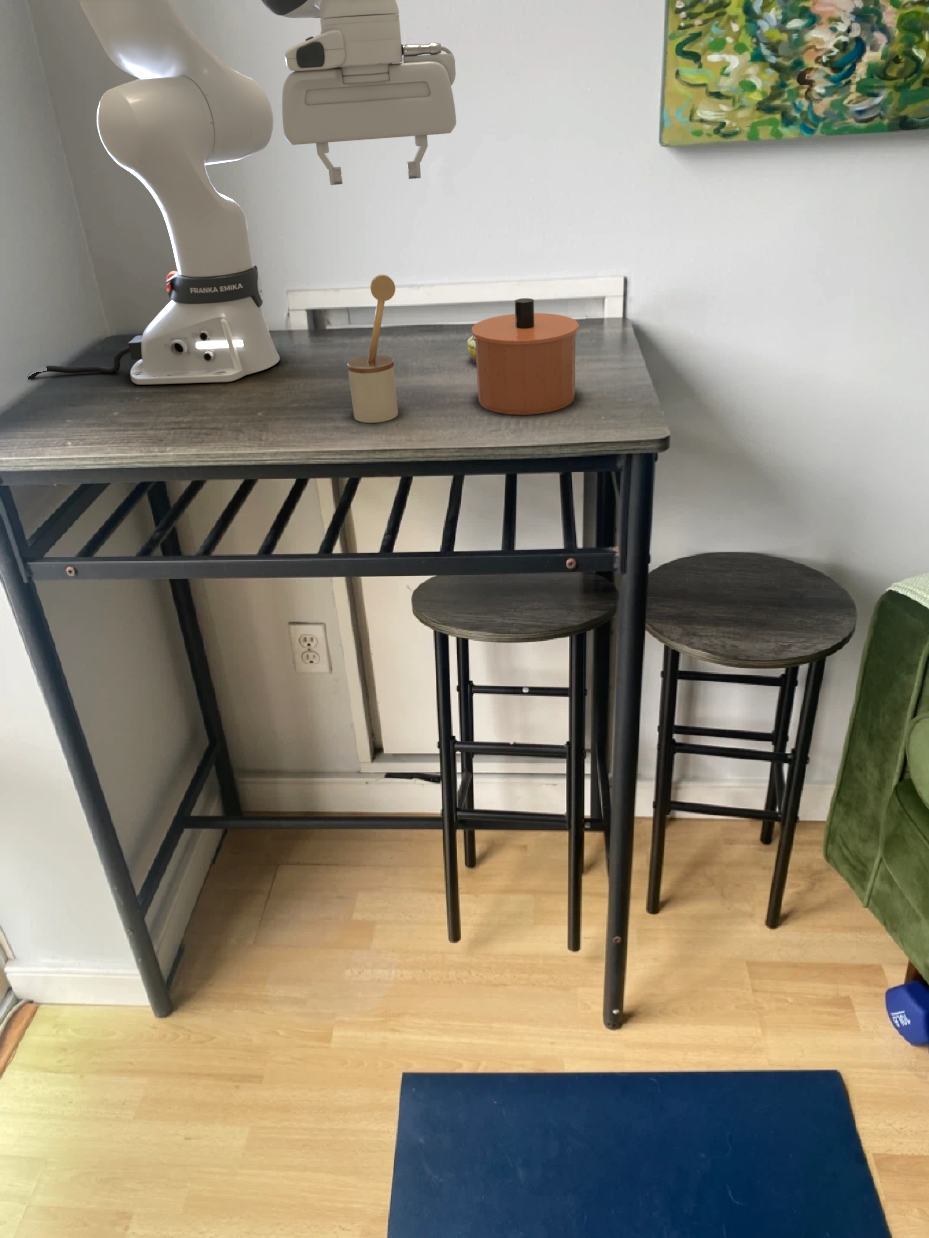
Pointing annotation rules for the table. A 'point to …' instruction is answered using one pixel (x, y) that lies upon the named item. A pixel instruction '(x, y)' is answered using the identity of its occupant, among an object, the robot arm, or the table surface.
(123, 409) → the table surface
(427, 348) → the table surface
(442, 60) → the robot arm
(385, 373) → the crock
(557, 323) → the pot lid
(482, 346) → the pot
